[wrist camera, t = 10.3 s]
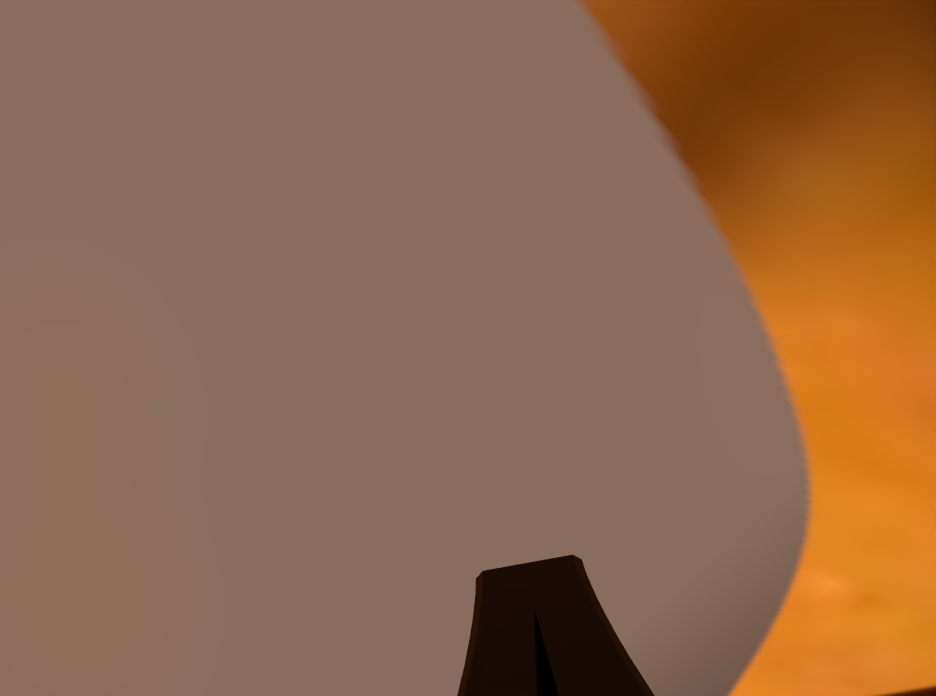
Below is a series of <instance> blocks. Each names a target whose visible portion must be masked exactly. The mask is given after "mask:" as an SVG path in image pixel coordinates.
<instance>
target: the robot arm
mask: <svg viewBox="0 0 936 696" xmlns="http://www.w3.org/2000/svg"><path fill="white" fill-rule="evenodd" d="M457 696H654V694H653V693H652V691H651V690H650V688H649V686H648V685H647V683H646V682H645V680H644V679H643V677H642V675H641V674H640V672H639V671H638V669H637V668H636V666H635V665H634V663H633V661H632V660H631V658H630V657H629V655H628V653H627V652H626V650H625V648H624V647H623V645H622V644H621V642H620V640H619V638H618V637H617V635H616V633H615V631H614V629H613V628H612V626H611V624H610V622H609V620H608V618H607V617H606V615H605V613H604V611H603V609H602V607H601V605H600V603H599V601H598V599H597V597H596V595H595V592H594V590H593V588H592V586H591V584H590V581H589V579H588V576H587V574H586V571H585V568H584V566H583V562H582V560H581V559H580V558H578V557H576V556H574V555H568V556H563V557H557V558H552V559H546V560H541V561H535V562H529V563H524V564H518V565H513V566H507V567H502V568H496V569H491V570H485V571H482V572H481V574H480V575H479V576H478V577H477V578H476V594H475V604H474V614H473V621H472V628H471V635H470V640H469V645H468V650H467V655H466V661H465V666H464V670H463V674H462V678H461V683H460V687H459V691H458V695H457Z"/></svg>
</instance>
